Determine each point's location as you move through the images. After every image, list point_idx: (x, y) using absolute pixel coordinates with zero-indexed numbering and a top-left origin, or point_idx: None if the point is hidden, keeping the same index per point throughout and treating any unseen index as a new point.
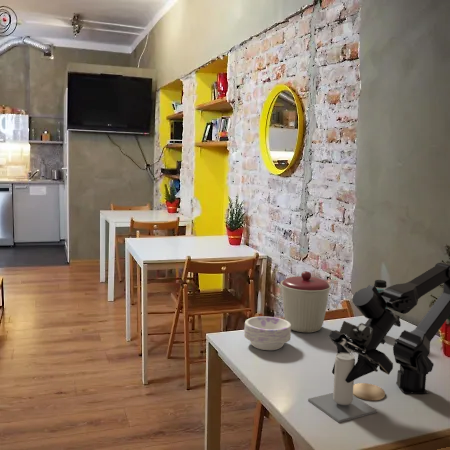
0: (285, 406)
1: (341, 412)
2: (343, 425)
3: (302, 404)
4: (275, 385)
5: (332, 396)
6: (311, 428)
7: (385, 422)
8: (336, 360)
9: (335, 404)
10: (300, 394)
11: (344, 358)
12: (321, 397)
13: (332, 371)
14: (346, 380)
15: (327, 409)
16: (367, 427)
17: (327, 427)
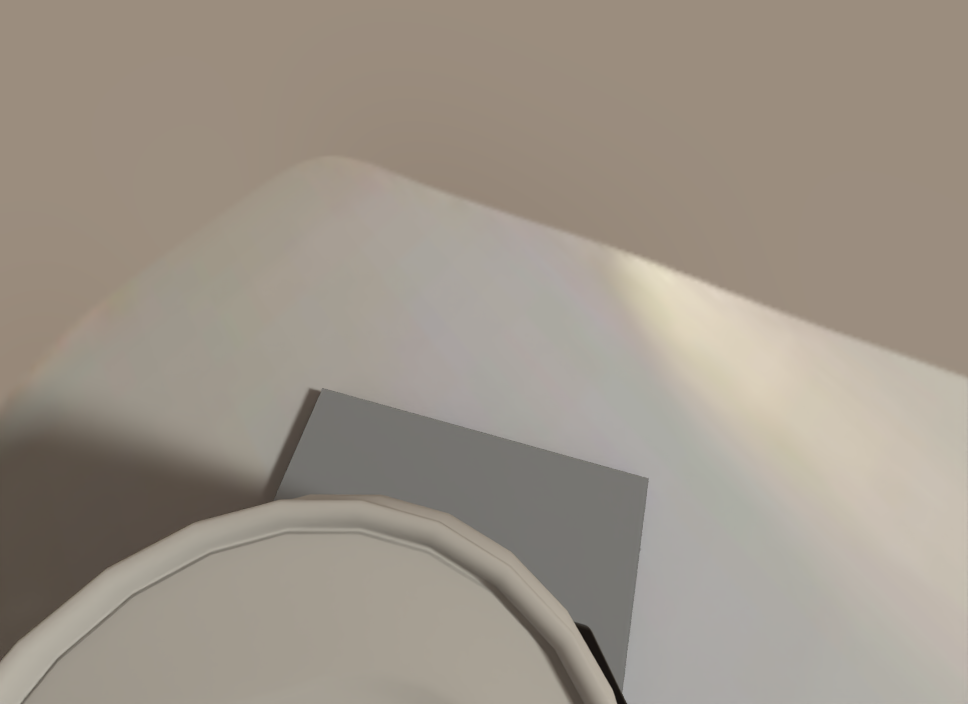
0: (663, 315)
1: (360, 493)
2: (288, 390)
3: (626, 411)
4: (952, 490)
5: None
6: (407, 241)
7: None
8: (468, 527)
9: None
10: (749, 522)
11: (212, 669)
12: (607, 581)
13: (584, 631)
14: None
15: (455, 451)
16: (146, 488)
17: (350, 305)
